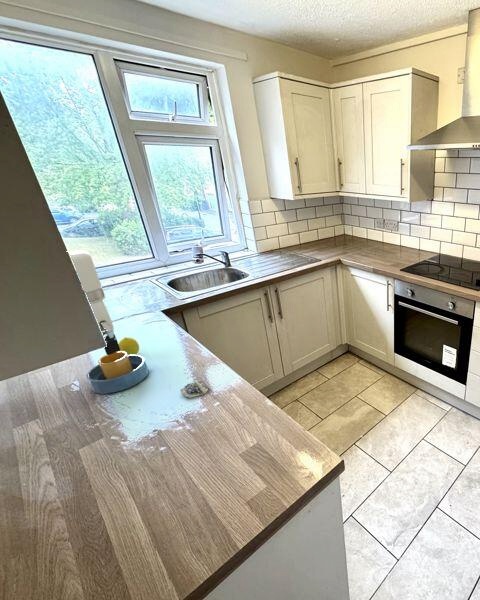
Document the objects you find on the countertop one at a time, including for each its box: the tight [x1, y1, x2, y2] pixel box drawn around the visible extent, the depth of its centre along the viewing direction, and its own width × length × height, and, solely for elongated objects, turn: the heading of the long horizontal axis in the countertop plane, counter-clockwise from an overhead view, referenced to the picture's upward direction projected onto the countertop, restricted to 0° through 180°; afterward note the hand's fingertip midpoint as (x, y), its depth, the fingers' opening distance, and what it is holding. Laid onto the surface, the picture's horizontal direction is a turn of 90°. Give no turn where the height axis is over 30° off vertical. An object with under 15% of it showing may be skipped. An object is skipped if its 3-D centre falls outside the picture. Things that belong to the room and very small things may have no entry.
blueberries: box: [179, 381, 209, 399], centre depth 99 cm, size 7×8×2 cm
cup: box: [97, 351, 133, 380], centre depth 102 cm, size 7×7×8 cm
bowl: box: [86, 354, 150, 395], centre depth 103 cm, size 14×14×5 cm
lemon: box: [118, 336, 140, 355], centre depth 114 cm, size 6×6×8 cm
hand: (106, 348), depth 98 cm, fingers open, 9 cm apart
